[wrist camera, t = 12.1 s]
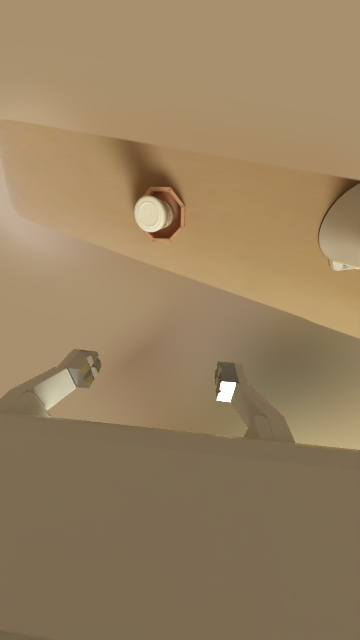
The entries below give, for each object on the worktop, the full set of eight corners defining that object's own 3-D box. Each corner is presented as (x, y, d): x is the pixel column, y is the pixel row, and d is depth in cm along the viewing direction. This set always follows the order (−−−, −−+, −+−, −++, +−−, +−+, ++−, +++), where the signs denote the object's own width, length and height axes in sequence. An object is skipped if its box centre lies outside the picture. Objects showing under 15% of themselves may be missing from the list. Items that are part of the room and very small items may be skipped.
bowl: (185, 189, 33) (184, 187, 30) (184, 240, 38) (183, 242, 35) (140, 188, 34) (135, 186, 31) (144, 238, 39) (140, 240, 36)
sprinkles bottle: (175, 227, 36) (164, 232, 25) (154, 226, 37) (135, 232, 25) (174, 201, 34) (163, 194, 22) (152, 201, 34) (130, 195, 23)
